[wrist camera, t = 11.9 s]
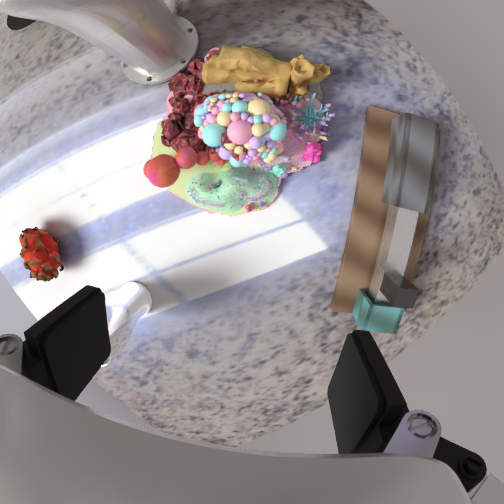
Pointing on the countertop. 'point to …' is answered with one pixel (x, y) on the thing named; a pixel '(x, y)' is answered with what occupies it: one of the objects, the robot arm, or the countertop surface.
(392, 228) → the inner tube
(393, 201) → the tube rig
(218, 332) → the countertop surface
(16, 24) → the plate
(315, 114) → the candy landscape model
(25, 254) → the dragon fruit
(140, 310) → the beer glass
